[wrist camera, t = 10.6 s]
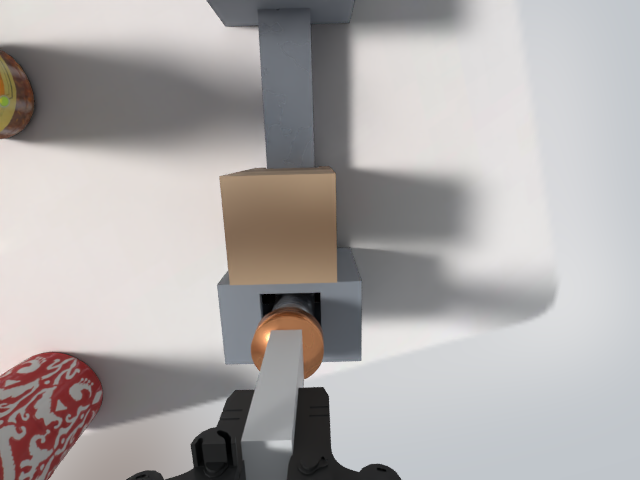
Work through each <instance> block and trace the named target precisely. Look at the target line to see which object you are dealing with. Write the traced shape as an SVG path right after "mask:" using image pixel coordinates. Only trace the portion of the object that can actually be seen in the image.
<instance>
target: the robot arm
mask: <svg viewBox="0 0 640 480" xmlns="http://www.w3.org/2000/svg"><path fill="white" fill-rule="evenodd" d="M303 386H304V367H303V343H302V330H271V332H270V336H269V339H268V343H267V347H266V350H265V354H264V358H263V362H262V365H261V369H260V373H259V376H258V380H257V384H256V387H255V390H235V391H234V392H233V393H232V394H231V396H230V397H229V398H228V399H227V400H226V403H225V406H224V408H223V412H222V414H221V417H220V420H219V422H218V425H217V427H215V428H210V429H208V430H206V431H203V432H202V433H201V434H199V435H198V436H197V437H196V438H195V439H194V440H193V442H192V443H191V450H192V457H193V464H194V468H193V469H192V470H190V471H188V472H186V473H184V474H181V475H179V476H175V477H173V478H169V479H166V480H401V478H400V477H399V475H398V474H397V473H396V472H395V471H394V470H393V469H391V468H390V467H388V466H385V465H382V464H370V465H368V466H366V467H364V468H362V470H361V471H360V472H356V471H353V470H350V469H347V468H345V467H343V466H342V465H340V464H339V463H338V462H337V461H336V460H335V458H334V456H333V454H332V451H331V439H330V438H331V437H330V415H329V414H330V413H329V396H328V394H327V392H326V391H325V389H324V388H323V387H313V388H303ZM127 480H164V479H163V477H162V475H161V474H160V473H158V472H156V471H143V472H140V473H137V474H135V475H133V476H131V477H130V478H128V479H127Z"/></svg>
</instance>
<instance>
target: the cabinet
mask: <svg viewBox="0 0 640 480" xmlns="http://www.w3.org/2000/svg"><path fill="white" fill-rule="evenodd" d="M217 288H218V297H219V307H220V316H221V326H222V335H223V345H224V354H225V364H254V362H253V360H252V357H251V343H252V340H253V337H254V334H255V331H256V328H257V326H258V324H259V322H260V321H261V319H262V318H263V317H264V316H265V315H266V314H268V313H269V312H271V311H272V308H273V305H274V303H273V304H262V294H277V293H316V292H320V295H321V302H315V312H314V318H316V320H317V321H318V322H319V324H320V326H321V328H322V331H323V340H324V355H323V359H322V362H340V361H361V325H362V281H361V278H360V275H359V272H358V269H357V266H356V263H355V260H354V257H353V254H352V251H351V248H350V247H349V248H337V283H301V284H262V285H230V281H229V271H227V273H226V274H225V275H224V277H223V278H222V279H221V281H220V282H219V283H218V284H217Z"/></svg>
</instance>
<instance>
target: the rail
mask: <svg viewBox="0 0 640 480" xmlns="http://www.w3.org/2000/svg"><path fill="white" fill-rule="evenodd" d="M257 11H258V27H259V43H260V60H261V76H262V92H263V108H264V125H265V141H266V157H267V169H278V168H315V161H314V126H313V90H312V54H311V21H310V8H288V9H257Z"/></svg>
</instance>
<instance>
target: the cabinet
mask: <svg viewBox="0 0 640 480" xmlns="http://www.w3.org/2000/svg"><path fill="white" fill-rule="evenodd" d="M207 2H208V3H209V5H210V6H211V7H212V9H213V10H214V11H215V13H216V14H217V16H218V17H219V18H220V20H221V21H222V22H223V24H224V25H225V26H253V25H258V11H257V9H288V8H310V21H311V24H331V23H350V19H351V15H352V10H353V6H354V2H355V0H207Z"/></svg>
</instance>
